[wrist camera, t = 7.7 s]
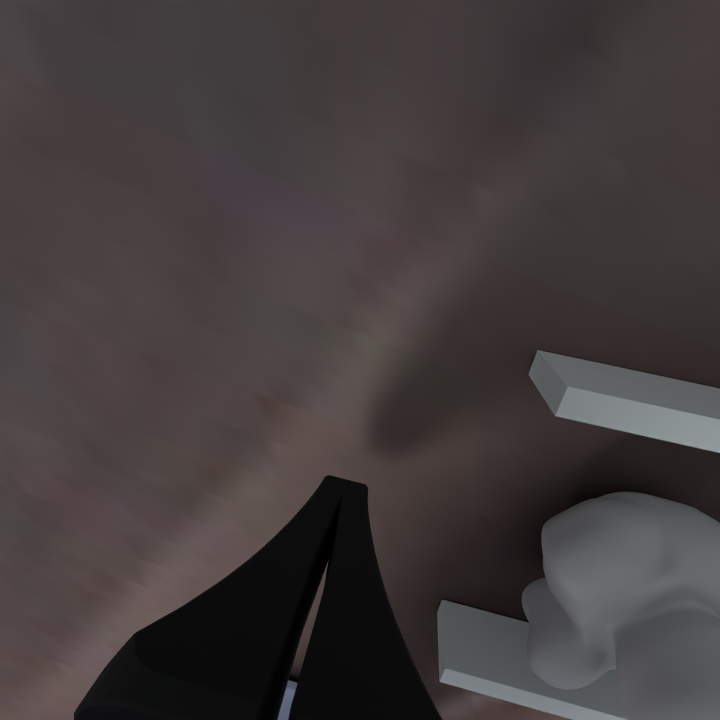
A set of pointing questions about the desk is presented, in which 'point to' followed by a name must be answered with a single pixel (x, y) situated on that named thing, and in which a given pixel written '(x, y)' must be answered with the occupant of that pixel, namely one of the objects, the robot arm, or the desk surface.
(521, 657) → the bay
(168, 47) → the desk surface
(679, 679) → the rubber duck
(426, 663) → the desk surface
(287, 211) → the desk surface
